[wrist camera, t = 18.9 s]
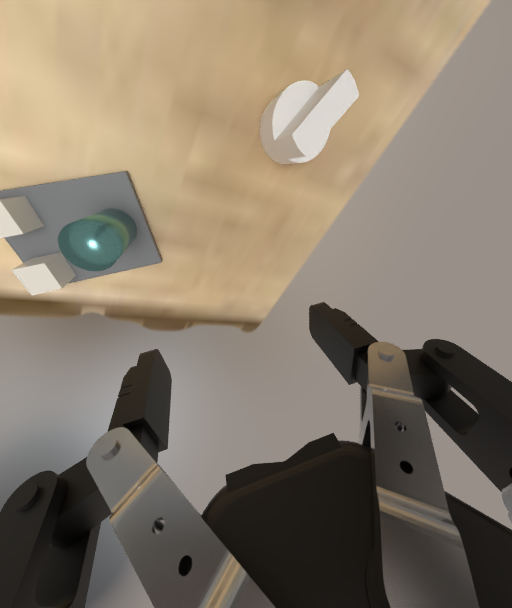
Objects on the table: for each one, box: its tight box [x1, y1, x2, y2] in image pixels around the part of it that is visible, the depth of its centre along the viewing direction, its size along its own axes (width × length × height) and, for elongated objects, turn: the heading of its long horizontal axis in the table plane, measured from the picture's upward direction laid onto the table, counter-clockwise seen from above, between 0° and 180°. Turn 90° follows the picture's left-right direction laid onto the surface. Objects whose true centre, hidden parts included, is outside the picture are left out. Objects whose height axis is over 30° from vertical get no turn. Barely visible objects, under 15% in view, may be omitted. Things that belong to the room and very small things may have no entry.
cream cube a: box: [12, 252, 76, 295], centre depth 33 cm, size 4×4×5 cm
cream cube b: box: [0, 196, 44, 238], centre depth 29 cm, size 4×4×5 cm
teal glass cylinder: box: [58, 208, 137, 271], centre depth 29 cm, size 6×6×12 cm
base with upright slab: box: [260, 69, 359, 164], centre depth 31 cm, size 9×9×12 cm
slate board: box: [0, 171, 162, 284], centre depth 34 cm, size 19×14×2 cm
